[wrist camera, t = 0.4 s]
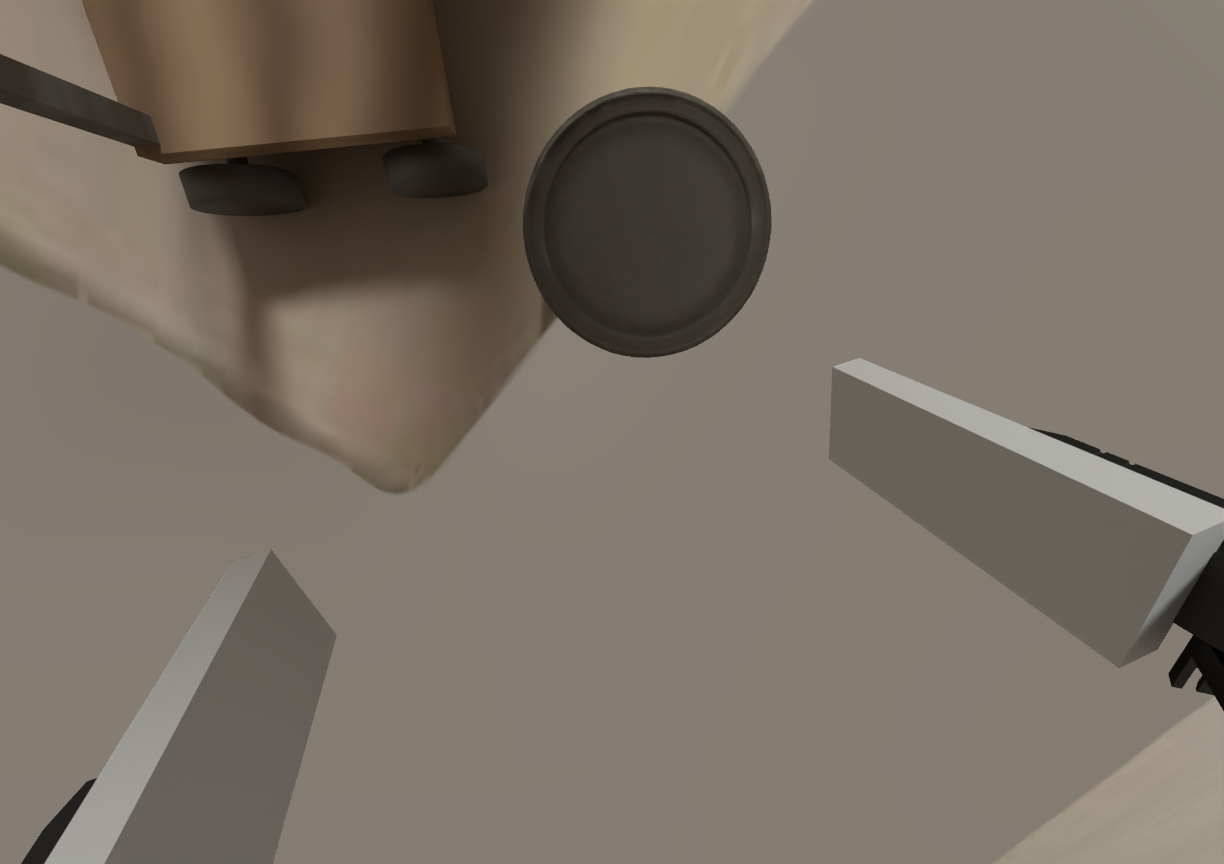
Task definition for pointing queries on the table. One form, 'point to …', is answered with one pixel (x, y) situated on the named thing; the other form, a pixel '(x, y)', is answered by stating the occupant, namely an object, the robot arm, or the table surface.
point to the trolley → (264, 93)
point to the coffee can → (647, 222)
